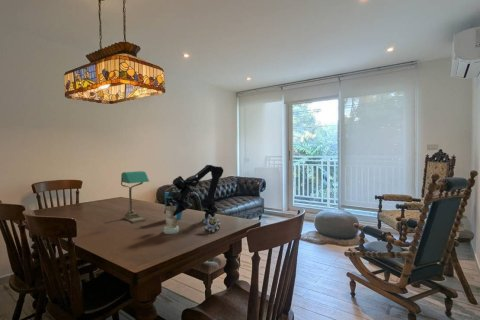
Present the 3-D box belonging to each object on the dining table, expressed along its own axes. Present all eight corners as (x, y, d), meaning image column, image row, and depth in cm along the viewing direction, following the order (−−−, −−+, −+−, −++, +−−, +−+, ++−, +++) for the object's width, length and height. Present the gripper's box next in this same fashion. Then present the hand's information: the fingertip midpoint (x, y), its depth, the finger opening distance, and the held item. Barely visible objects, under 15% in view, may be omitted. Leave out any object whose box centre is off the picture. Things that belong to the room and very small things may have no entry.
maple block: (172, 225, 170) (171, 205, 169) (176, 227, 167) (176, 206, 166) (166, 227, 166) (165, 206, 166) (170, 228, 163) (169, 207, 163)
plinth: (181, 230, 170) (181, 225, 170) (174, 235, 161) (174, 230, 161) (168, 229, 172) (168, 224, 172) (161, 233, 163) (160, 229, 163)
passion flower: (213, 240, 165) (204, 228, 159) (204, 233, 173) (195, 220, 167) (226, 228, 169) (218, 215, 163) (217, 221, 178) (209, 208, 172)
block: (167, 221, 191) (166, 193, 190) (165, 219, 195) (164, 192, 194) (183, 218, 197) (182, 191, 196) (180, 217, 201) (180, 190, 200)
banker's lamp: (139, 215, 210) (138, 170, 208) (151, 220, 194) (150, 171, 193) (118, 218, 199) (117, 171, 197) (129, 224, 184) (127, 173, 182)
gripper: (166, 185, 174) (152, 204, 166) (185, 187, 162) (170, 208, 154) (177, 195, 181) (163, 214, 173) (195, 198, 169) (181, 219, 161)
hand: (169, 214), depth 165 cm, fingers open, 9 cm apart
